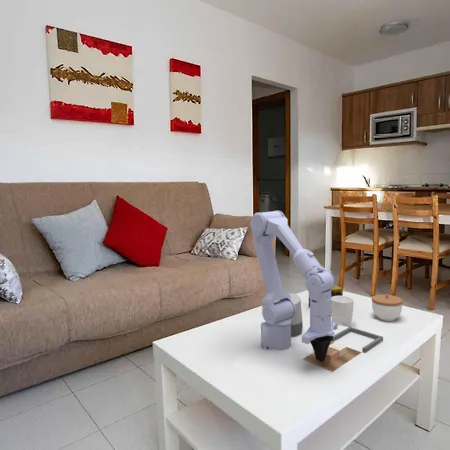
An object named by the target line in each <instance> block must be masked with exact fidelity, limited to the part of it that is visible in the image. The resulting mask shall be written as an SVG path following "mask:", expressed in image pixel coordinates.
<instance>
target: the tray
mask: <svg viewBox="0 0 450 450" xmlns="http://www.w3.org/2000/svg"><path fill="white" fill-rule="evenodd" d="M350 333H353V334H357V335H360V336H363V337H365V338H369V339H373V340H372V341H371V342H369V343H367V344H366V345H365V346H363V347H362V350H361V352H362V353H364V354H366V353H368V352H369V351H370V350H371V349H373V348H375V347H376V346H377V345H379V344H381V343H382V342H383V341H384V336H382V335H377V334H375V333H371V332H369V331H366V330H362V329H359V328H356V327H352V326H351V327H347V328H345V329H343V330H341V331H340V332H337V333H336V334H334V335H332V336H333V340H332V341H331V343H332V342H335V341H337V340H339V339H341V338H342V337H345V336H346V335H348V334H350Z"/></svg>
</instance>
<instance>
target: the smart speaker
mask: <svg viewBox="0 0 450 450" xmlns="http://www.w3.org/2000/svg"><path fill="white" fill-rule="evenodd" d="M287 293H288V294H290V297H291V300H292V301H293V303H294V305H295V308H296V313H295V316H294V317H292V321H291V338H293V337H297V336H300V335H302V332H303V325H304V324H303V312H302V301H301V296H300V295H299V294H297V293H291V292H290V293H289V292H287ZM278 301H280V300H278ZM278 301H276V302H278Z"/></svg>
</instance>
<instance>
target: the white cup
mask: <svg viewBox="0 0 450 450" xmlns="http://www.w3.org/2000/svg"><path fill="white" fill-rule="evenodd" d="M353 311H354V298H352V297H350V296H347V295H343V296H333V297H331V321H333V322H337V323H338V325H339V326H344V327H347V328H348V327H352V325H353V323H352V321H353V315H354V313H353Z"/></svg>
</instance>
